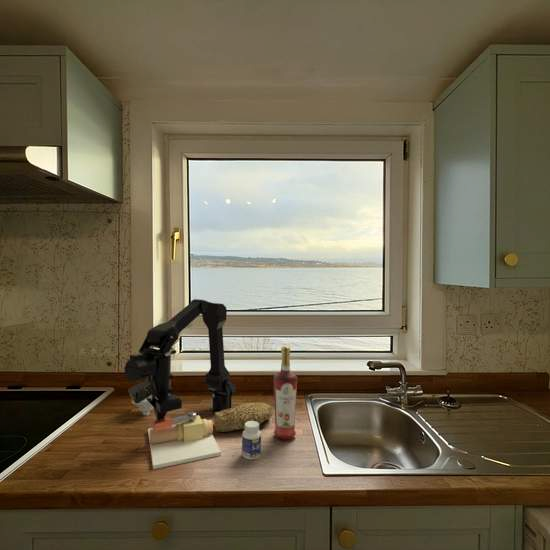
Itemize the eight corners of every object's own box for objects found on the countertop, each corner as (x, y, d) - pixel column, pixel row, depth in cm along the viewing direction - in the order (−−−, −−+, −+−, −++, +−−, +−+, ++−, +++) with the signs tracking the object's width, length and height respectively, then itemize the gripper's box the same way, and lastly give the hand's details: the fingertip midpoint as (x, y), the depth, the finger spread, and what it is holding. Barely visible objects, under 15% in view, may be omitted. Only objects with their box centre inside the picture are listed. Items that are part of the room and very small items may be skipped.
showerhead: (125, 398, 121) (139, 388, 131) (125, 419, 121) (139, 408, 131) (152, 400, 120) (164, 389, 130) (152, 421, 120) (164, 409, 130)
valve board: (204, 422, 120) (204, 405, 120) (220, 455, 99) (221, 434, 99) (148, 431, 113) (148, 413, 113) (153, 469, 92) (153, 447, 92)
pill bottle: (253, 462, 96) (253, 430, 96) (238, 456, 99) (238, 425, 99) (264, 453, 101) (264, 422, 100) (249, 448, 103) (249, 418, 103)
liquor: (274, 443, 106) (275, 350, 105) (271, 431, 113) (272, 344, 112) (298, 441, 107) (299, 349, 106) (294, 430, 115) (294, 344, 114)
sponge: (217, 442, 110) (279, 423, 113) (211, 416, 110) (273, 399, 114) (217, 430, 122) (273, 414, 126) (212, 407, 123) (268, 392, 127)
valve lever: (194, 416, 110) (194, 410, 110) (197, 419, 108) (197, 413, 108) (152, 427, 102) (152, 420, 102) (155, 431, 100) (155, 424, 100)
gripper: (122, 367, 106) (121, 418, 107) (142, 386, 91) (141, 445, 92) (159, 361, 113) (158, 409, 114) (183, 378, 98) (182, 433, 99)
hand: (159, 423), depth 104 cm, fingers closed
